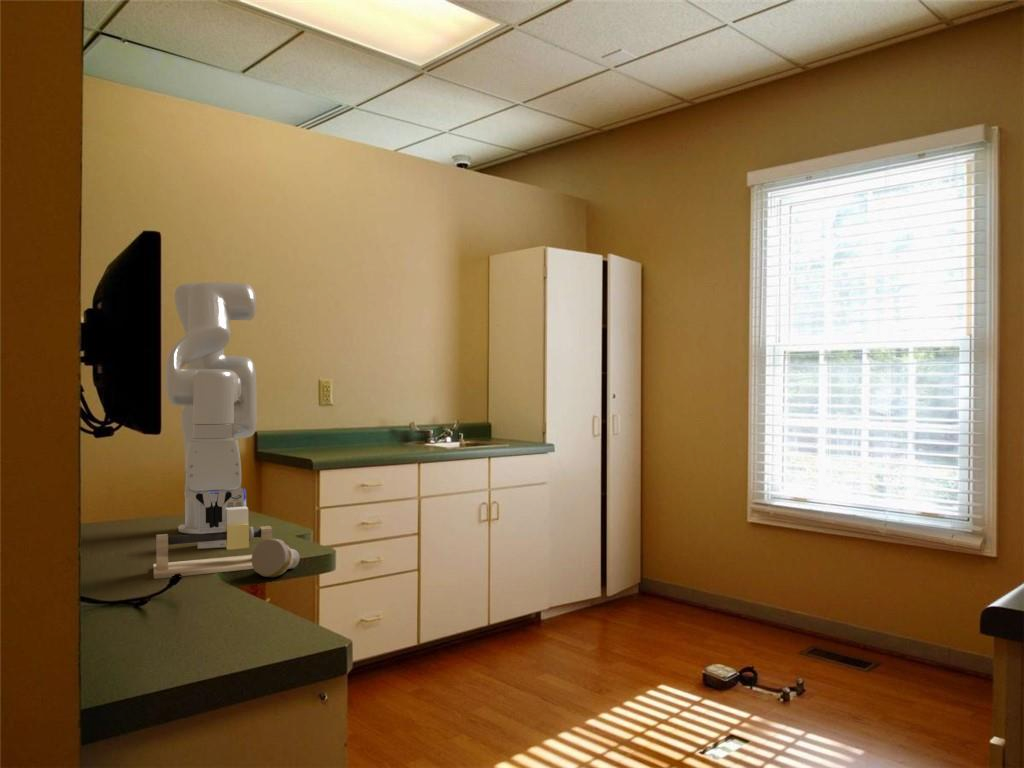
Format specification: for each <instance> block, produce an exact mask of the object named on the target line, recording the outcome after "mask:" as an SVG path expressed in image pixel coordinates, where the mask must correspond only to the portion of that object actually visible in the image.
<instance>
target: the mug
mask: <svg viewBox="0 0 1024 768" xmlns="http://www.w3.org/2000/svg"><path fill="white" fill-rule="evenodd" d="M251 555H252V565H253V568H254V569H253V570H254V572H255V573H257V574H259V575H260V576H261V577H266V578H276V577H279V576H281V575H283V574H284V573H285V572H287V570H293V569H295V568H296V567H297V566H298V564H299V562H300V553H299V552H298V551H297V550H296V549H293V548H291V547H290V546H289V544H287V543H286V542H285V541H283V540H282V539H279V538H272V539H267V540H264V541H262V542H261V543H260V542H259V543H258V544H257V545H256V546H255V548H254V549H253V551H252V553H251Z"/></svg>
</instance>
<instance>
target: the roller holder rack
mask: <svg viewBox="0 0 1024 768" xmlns="http://www.w3.org/2000/svg"><path fill="white" fill-rule="evenodd" d="M155 536H156V537H155V539H156V541H155V542H156V543H155V546H156V547H155V548H156V551H155V552H156V563H153V564H152V565H153V580H157V579H167V578H173V577H172V576H174V575H175V574H178V573H180V574H181V575H182V576H181V577H185V576H187V577H188V576H196V575H197V576H198V575H208V574H215V573H216V574H217V573H223V572H224V573H225V572H227V573H228V572H234V571H244V570H254V568H253V565H252V554H245V555H244V554H243V555H237V556H236V555H235V556H224V557H213V558H212V557H211V558H204V559H191V560H183V561H182V560H181V561H172V562H171V561H169V546H170V545H182V544H194V543H196V544H197V543H198V542H208V541H219V540H227V532H216V533H204V534H182V535H181V534H179V535H169V534H168V533H163V534H156V535H155ZM255 538H259V543H261V542H262V541H264V540H267V539H273V527H272V526H271V525H265V526H263V525H262V526H259V528H257V529H256V528H254V526H249V542H251V541H252V542H253V541H254V539H255Z"/></svg>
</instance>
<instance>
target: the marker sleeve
mask: <svg viewBox="0 0 1024 768" xmlns="http://www.w3.org/2000/svg"><path fill="white" fill-rule="evenodd" d="M225 515H226V522H225V532H227V540H225V546H226V547H225V548H226V550H228V551H229V550H230V551H231V550H239V549H240V550H241V549H249V548H250V541H249V527H250V525H249V508H248V506H247V505H246V506H244V507H229V508H225Z"/></svg>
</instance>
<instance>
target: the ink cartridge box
mask: <svg viewBox="0 0 1024 768" xmlns="http://www.w3.org/2000/svg"><path fill="white" fill-rule="evenodd" d="M242 490H243V493H242V494H241V495H237V496H234V497H231V498H230V499H229V500H228V501H227V502H226V503H225V504H224V505H223V506H222V522H219V527H213V528H210V526H209V523H206V507H205V506H204V505H203V504H202V503H201V502H199V501H198V534H204V533H216V532H225V522H226V515H225V508H229V507H244V506H247V490H246V488H242ZM226 491H230V490H226ZM200 493H201V494H202V492H200ZM209 495H210V501H211V502H212V504H213V507H214V506H215V502H216V501H217V495H218V491H209ZM217 548H219V549H220V548H226V546H225V540H219V541H208V542H197V548H196V549H197V550H201V549H202V550H203V549H217Z"/></svg>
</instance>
